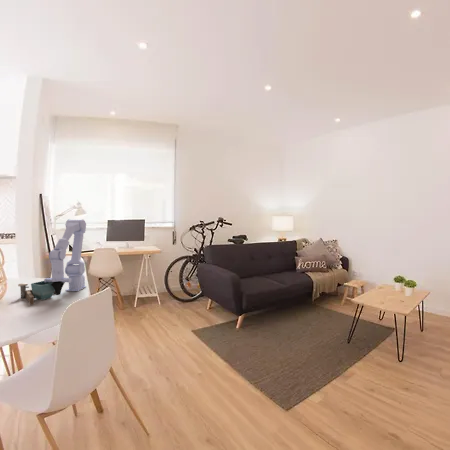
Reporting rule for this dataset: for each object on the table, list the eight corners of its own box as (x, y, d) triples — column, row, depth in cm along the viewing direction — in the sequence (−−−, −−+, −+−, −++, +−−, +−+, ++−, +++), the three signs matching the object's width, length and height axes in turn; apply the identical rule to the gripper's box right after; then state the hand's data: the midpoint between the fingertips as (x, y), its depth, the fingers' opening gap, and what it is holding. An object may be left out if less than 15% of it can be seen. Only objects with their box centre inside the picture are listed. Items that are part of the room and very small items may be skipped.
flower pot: (56, 297, 155) (56, 281, 154) (41, 301, 147) (40, 285, 146) (46, 295, 158) (46, 280, 158) (30, 299, 150) (30, 283, 150)
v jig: (34, 291, 165) (34, 278, 165) (61, 291, 165) (60, 279, 164) (2, 304, 142) (1, 289, 142) (32, 305, 142) (31, 290, 141)
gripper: (40, 272, 148) (40, 296, 149) (65, 272, 148) (66, 297, 149) (48, 269, 155) (49, 292, 156) (73, 269, 155) (74, 293, 156)
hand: (58, 294), depth 153 cm, fingers closed
